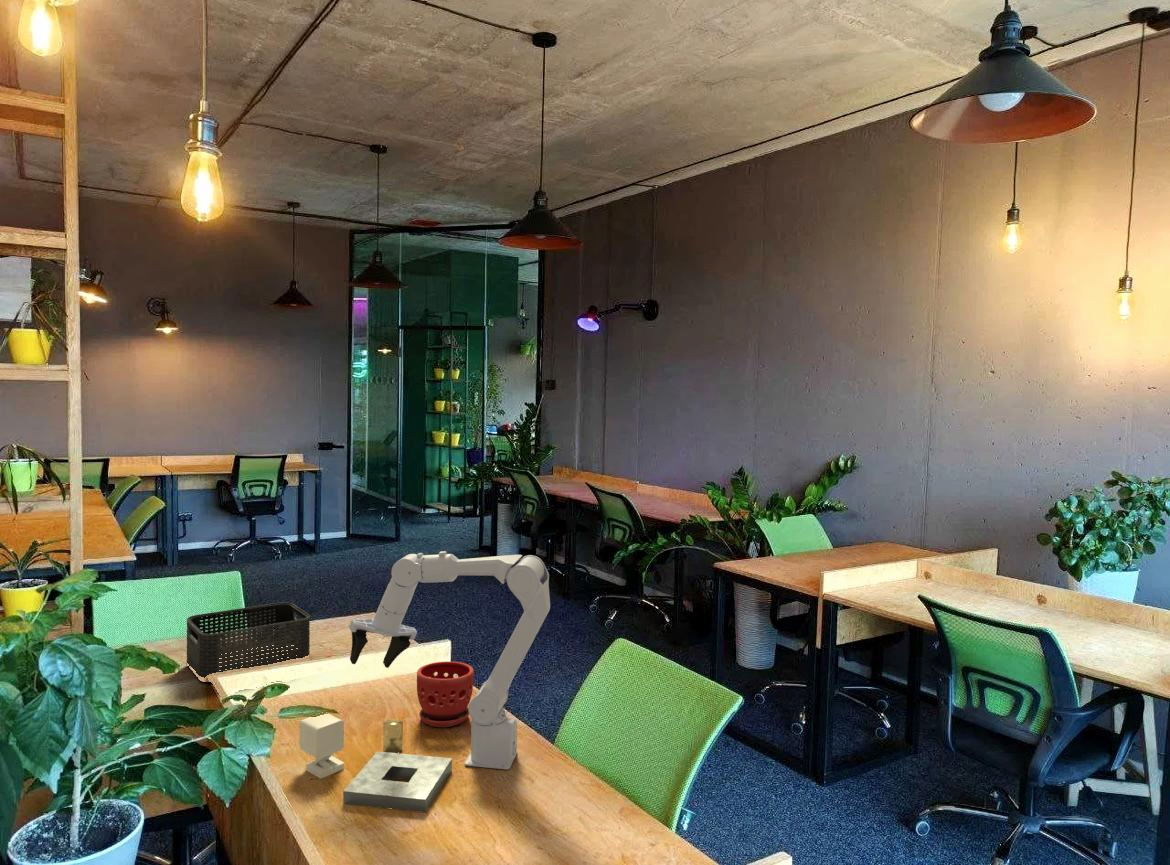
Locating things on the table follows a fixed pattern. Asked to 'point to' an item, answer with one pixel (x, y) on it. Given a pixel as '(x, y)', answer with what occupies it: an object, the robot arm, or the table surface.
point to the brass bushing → (392, 735)
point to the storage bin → (210, 646)
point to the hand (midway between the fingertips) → (369, 663)
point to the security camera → (322, 743)
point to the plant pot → (444, 693)
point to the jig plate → (382, 792)
